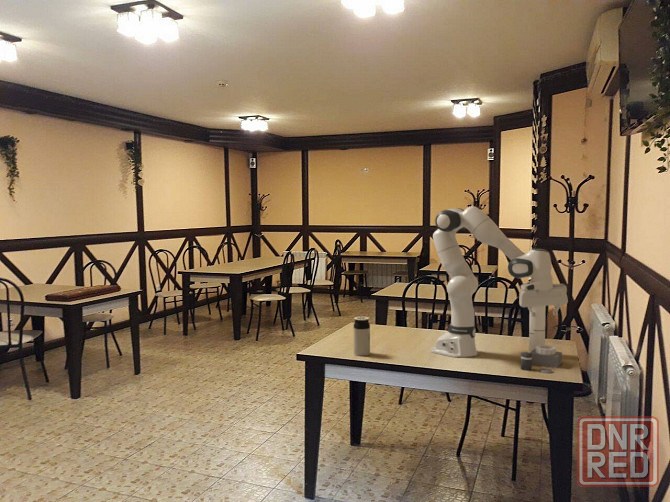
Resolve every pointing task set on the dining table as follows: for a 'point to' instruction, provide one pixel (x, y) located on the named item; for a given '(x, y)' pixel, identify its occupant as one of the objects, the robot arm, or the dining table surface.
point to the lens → (526, 361)
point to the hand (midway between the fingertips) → (544, 315)
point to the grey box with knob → (546, 356)
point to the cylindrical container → (537, 327)
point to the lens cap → (545, 370)
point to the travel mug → (361, 336)
